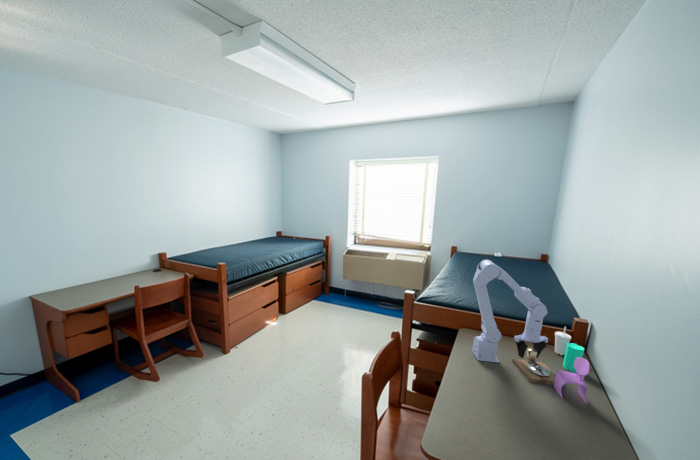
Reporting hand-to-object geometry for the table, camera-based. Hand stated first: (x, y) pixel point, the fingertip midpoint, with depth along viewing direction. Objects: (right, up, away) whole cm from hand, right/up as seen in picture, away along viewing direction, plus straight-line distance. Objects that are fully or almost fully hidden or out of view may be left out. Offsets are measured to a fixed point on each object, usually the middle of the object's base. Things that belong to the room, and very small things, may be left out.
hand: (527, 356), depth 119 cm
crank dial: (+1, -3, -4) cm, 5 cm away
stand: (0, -5, -5) cm, 7 cm away
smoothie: (+23, -4, +12) cm, 27 cm away
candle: (+20, -6, +1) cm, 20 cm away
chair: (+5, -7, -17) cm, 19 cm away
